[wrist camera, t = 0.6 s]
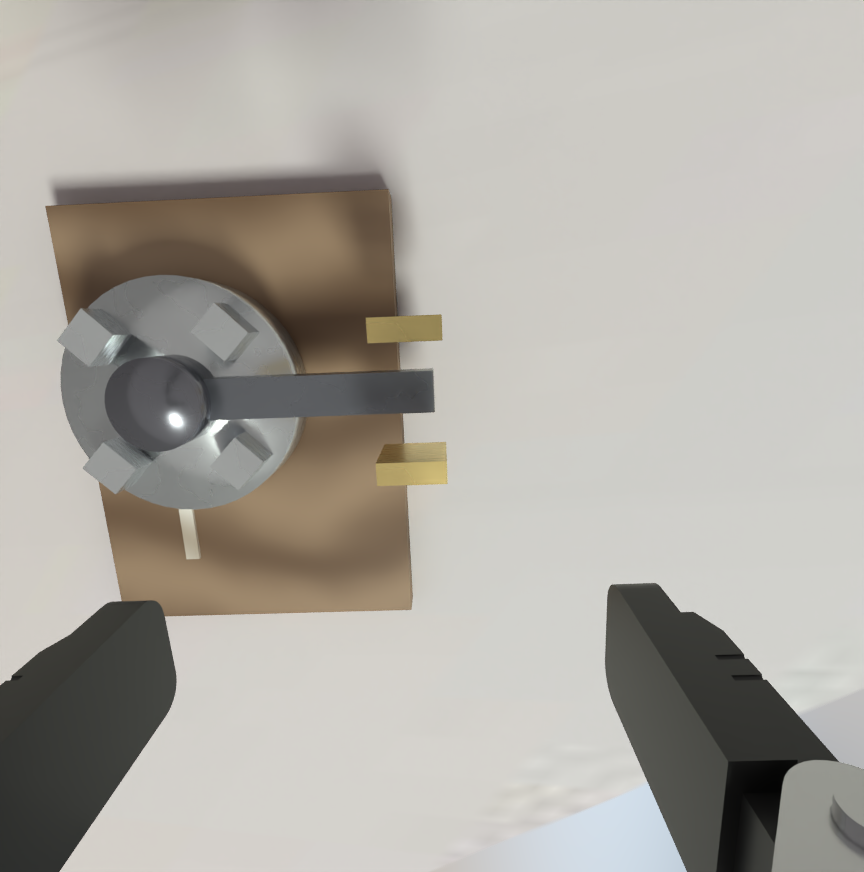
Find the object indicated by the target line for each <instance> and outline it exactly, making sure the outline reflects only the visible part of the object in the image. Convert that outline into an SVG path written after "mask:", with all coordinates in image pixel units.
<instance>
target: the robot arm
mask: <svg viewBox="0 0 864 872" xmlns="http://www.w3.org/2000/svg"><path fill="white" fill-rule="evenodd" d="M605 669H606V677H607V683H608V688H609V692H610V695H611V699H612V701H613V704H614V706H615V708H616V711H617V713H618V715H619V717H620V720H621V722H622V724H623V727H624V729H625V731H626V733H627V736H628V738H629V740H630V743H631V745H632V747H633V749H634V752H635V754H636V756H637V758H638V761H639V763H640V765H641V768H642V770H643V772H644V774H645V777H646V779H647V781H648V784H649V786H650V788H651V790H652V793H653V795H654V797H655V799H656V802H657V804H658V806H659V809H660V811H661V813H662V815H663V818H664V820H665V822H666V824H667V827H668V829H669V831H670V834H671V836H672V838H673V840H674V843H675V845H676V847H677V850H678V852H679V854H680V856H681V859H682V861H683V863H684V866H685V868H686V870H687V872H864V769H861V768H858V767H855V766H852V765H848V764H844V763H840V762H839V761H838V760H837V759H836V758H835V757H834V756H833V754H832V753H831V752H830V751H829V750H828V749H827V748H826V746H825V745H824V744H823V743H822V742H821V741H820V740H819V739H818V737H817V736H816V735H815V734H814V733H813V732H812V731H811V730H810V728H809V727H808V726H807V725H806V724H805V723H804V722H803V720H802V719H801V718H800V717H799V716H798V715H797V714H796V713H795V711H794V710H793V709H792V708H791V707H790V706H789V705H788V704H787V702H786V701H785V700H784V699H783V698H782V697H781V696H780V694H779V693H778V692H777V691H776V690H775V689H774V688H773V687H772V685H771V684H770V683H769V682H768V681H767V680H763V678H762V674H761V673H760V672H759V671H758V670H757V668H756V667H755V666H754V665H753V664H752V663H751V662H750V661H749V659H745V658H744V654H743V653H742V651H741V650H740V649H739V648H738V647H737V646H736V645H735V644H734V642H733V641H732V640H731V639H730V638H729V637H728V636H727V634H726V633H725V632H724V631H723V630H721V629H720V628H718V627H716V626H715V625H713V624H712V623H710V622H709V621H707V620H705V619H704V618H702V617H701V616H699V615H698V614H696V613H694V612H680V611H679V610H678V608H677V607H676V606H675V605H674V603H673V602H672V601H671V600H670V598H669V597H668V596H667V595H666V593H665V592H664V591H663V590H662V588H661V587H660V586H659V585H658V584H656V583H643V584H616V585H611V586H610V588H609V590H608V597H607V623H606V651H605ZM175 691H176V671H175V666H174V661H173V656H172V651H171V646H170V641H169V636H168V631H167V626H166V621H165V616H164V612H163V609H162V607H161V605H160V604H159V603H158V602H157V601H153V600H147V601H120V602H109V603H107V604H106V605H104V606H103V607H102V608H100V609H99V610H98V611H97V612H96V613H95V614H94V615H92V616H91V617H90V618H89V619H88V620H87V621H85V622H84V623H83V624H82V625H81V626H80V627H79V628H77V629H76V630H75V631H74V632H73V633H72V634H70V635H69V636H67V637H65V638H64V639H62V640H60V641H58V642H57V643H55V644H53V645H51V646H50V647H48V648H46V649H45V650H43V651H41V652H39V653H38V654H37V655H36V656H35V657H34V658H32V659H31V660H30V661H29V662H28V663H26V664H25V665H24V666H23V667H22V668H21V669H19V670H18V671H17V672H16V673H15V674H13V675H12V679H11V680H10V681H5V682H4V683H3V684H2V685H0V872H59V871H60V870H61V868H62V867H63V865H64V864H65V863H66V861H67V860H68V858H69V857H70V855H71V854H72V852H73V851H74V849H75V848H76V846H77V845H78V844H79V842H80V841H81V839H82V838H83V836H84V835H85V833H86V832H87V830H88V829H89V827H90V826H91V824H92V823H93V822H94V820H95V819H96V817H97V816H98V814H99V813H100V811H101V810H102V808H103V807H104V805H105V804H106V803H107V801H108V800H109V798H110V797H111V795H112V794H113V792H114V791H115V789H116V788H117V786H118V785H119V784H120V782H121V781H122V779H123V778H124V776H125V775H126V773H127V772H128V770H129V769H130V767H131V766H132V765H133V763H134V762H135V760H136V759H137V757H138V756H139V754H140V753H141V751H142V750H143V748H144V747H145V746H146V744H147V743H148V741H149V740H150V738H151V737H152V735H153V734H154V732H155V731H156V729H157V728H158V727H159V725H160V724H161V722H162V721H163V719H164V718H165V716H166V715H167V713H168V711H169V709H170V707H171V705H172V702H173V699H174V695H175Z"/></svg>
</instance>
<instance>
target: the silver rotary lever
mask: <svg viewBox="0 0 864 872" xmlns="http://www.w3.org/2000/svg"><path fill="white" fill-rule="evenodd" d="M366 329H367V343H389V342H413V341H438V340H442V317H441V315H419V316H395V317H371V318H366ZM57 341H58V342H59V343H60V344H62V345H63V346H64V347H65V351H64V354H63V359H62V367H61V392H62V399H63V404H64V408H65V412H66V416H67V419H68V421H69V424H70V426H71V429H72V431H73V433H74V435H75V437H76V439H77V441H78V442H79V444H80V446H81V447H82V449H83V450H84V452H85V453H86V454H87V456H88V457H89V461H88V462H87V463H86V464H85V466H84V467H83V469H84V470H85V471H87V472H88V473H89V474H90V475H92V476H93V477H94V478H95V479H97V480H98V481H99V482H100V483H102V484H103V485H104V486H106V487H107V488H108V489H109V490H111V491H112V492H113V493H114V494H118V493H119V492H121V491H123V490H126V491H128V492H129V493H131V494H133V495H135V496H137V497H139V498H141V499H144V500H146V501H149V502H151V503H154V504H158V505H161V506H165V507H170V508H177V509H194V510H196V509H206V508H213V507H217V506H221V505H225V504H228V503H230V502H233V501H236V500H238V499H240V498H242V497H243V496H245V495H247V494H249V493H250V492H252V491H253V490H255V489H256V488H257V487H259V486H260V485H261V484H262V483H263V482H265V481H266V480H267V479H268V478H269V477H270V476H271V475H272V474H274V473H275V472H276V471H277V470H278V469H279V468H280V467H281V466H282V465H283V464H284V463H285V462H286V461H287V459H288V458H289V457H290V455H291V454H292V453H293V451H294V449H295V448H296V446H297V444H298V442H299V440H300V438H301V435H302V433H303V430H304V427H305V423H306V419H307V417H318V416H345V415H372V414H399V413H426V412H435V401H434V376H433V368H431V369H405V370H380V371H354V372H329V373H306V371H305V368H304V364H303V361H302V358H301V356H300V354H299V351H298V349H297V347H296V345H295V343H294V341H293V340H292V338H291V336H290V335H289V333H288V332H287V330H286V329H285V328H284V327H283V325H282V324H281V323H280V321H279V320H278V319H277V318H276V317H275V316H274V315H273V314H272V313H271V312H270V311H269V310H268V309H266V308H265V307H264V306H263V305H261V304H260V303H259V302H258V301H256V300H255V299H253V298H251V297H250V296H248V295H246V294H245V293H243V292H241V291H239V290H236V289H234V288H232V287H230V286H226V285H223V284H220V283H216V282H212V281H206V280H201V279H196V278H190V277H184V276H177V275H155V276H146V277H141V278H137V279H134V280H130V281H127V282H125V283H123V284H120V285H118V286H116V287H114V288H112V289H111V290H109V291H107V292H106V293H104V294H102V295H101V296H100V297H99V298H98V299H96V300H95V301H94V302H93V303H92V304H91V305H90V306H89V307H88V308H81V309H80V310H79V311H78V313H77V314H76V315H75V317H74V318H73V320H72V321H71V322H70V324H69V325H68V326H67V328H66V329H65V330H64V332H63V333H62V334H61V336H60V337H59V339H58V340H57ZM376 477H377V486H398V485H428V484H447V457H446V442H434V443H405V444H385V445H384V447H383V449H382V451H381V453H380V455H379V457H378V460H377V462H376Z"/></svg>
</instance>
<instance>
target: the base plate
mask: <svg viewBox="0 0 864 872" xmlns="http://www.w3.org/2000/svg"><path fill="white" fill-rule="evenodd" d="M46 212H47V217H48V222H49V227H50V232H51V237H52V243H53V248H54V253H55V258H56V263H57V268H58V274H59V279H60V284H61V289H62V294H63V299H64V305H65V310H66V315H67V320H68V325H69V324H70V322H71V321H72V320H73V318H74V317H75V315H76V314H77V313H78V311H79V310H80V309H81V308H88V307H89V306H90V305H91V304H92V303H93V302H94V301H95V300H96V299H98V298H99V297H100V296H101V295H102V294H104V293H106V292H107V291H109V290H111V289H112V288H114V287H116V286H118V285H120V284H123V283H125V282H127V281H130V280H134V279H137V278H141V277H146V276H155V275H177V276H184V277H190V278H196V279H201V280H206V281H212V282H216V283H220V284H223V285H226V286H230V287H232V288H234V289H236V290H239V291H241V292H243V293H245V294H246V295H248V296H250V297H251V298H253V299H255V300H256V301H258V302H259V303H260V304H261V305H263V306H264V307H265V308H266V309H268V310H269V311H270V312H271V313H272V314H273V315H274V316H275V317H276V318H277V319H278V320H279V321H280V323H281V324H282V325H283V327H284V328H285V329H286V330H287V332H288V333H289V335H290V336H291V338H292V340H293V341H294V343H295V345H296V347H297V349H298V351H299V354H300V356H301V358H302V361H303V364H304V368H305V371H306V373H329V372H354V371H380V370H400V353H399V342H389V343H367V329H366V318H371V317H395V316H397V297H396V279H395V261H394V242H393V224H392V205H391V195H390V193H389V190H388V189H383V190H363V191H343V192H322V193H302V194H281V195H261V196H241V197H220V198H200V199H179V200H159V201H139V202H118V203H98V204H77V205H57V206H46ZM385 444H404V427H403V413H399V414H372V415H345V416H318V417H307V419H306V423H305V427H304V430H303V433H302V435H301V438H300V440H299V442H298V444H297V446H296V448H295V449H294V451H293V453H292V454H291V455H290V457H289V458H288V459H287V461H286V462H285V463H284V464H283V465H282V466H281V467H280V468H279V469H278V470H277V471H276V472H275V473H274V474H272V475H271V476H270V477H269V478H268V479H267V480H266V481H265V482H263V483H262V484H261V485H260V486H259V487H257V488H256V489H255V490H253V491H252V492H250V493H249V494H247V495H245V496H243V497H242V498H240V499H238V500H236V501H233V502H230V503H228V504H225V505H221V506H217V507H213V508H206V509H196V510H194V509H177V508H170V507H165V506H161V505H158V504H154V503H151V502H149V501H146V500H144V499H141V498H139V497H137V496H135V495H133V494H131V493H129V492H128V491H126V490H123V491H121V492H119V493H118V494H114V493H113V492H112V491H111V490H109V489H108V488H107V487H106V486H104V485H103V484H102V483H100V482H99V486H100V491H101V496H102V501H103V506H104V511H105V517H106V522H107V527H108V532H109V537H110V542H111V548H112V553H113V558H114V563H115V568H116V573H117V579H118V584H119V589H120V594H121V599H122V601H147V600H153V601H157V602H158V603H159V604H160V605H161V607H162V609H163V612H164V616H193V615H231V614H269V613H306V612H344V611H382V610H411V608H412V599H413V593H412V575H411V556H410V538H409V519H408V501H407V485H398V486H377V477H376V462H377V460H378V457H379V455H380V453H381V451H382V449H383V447H384V445H385Z"/></svg>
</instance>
